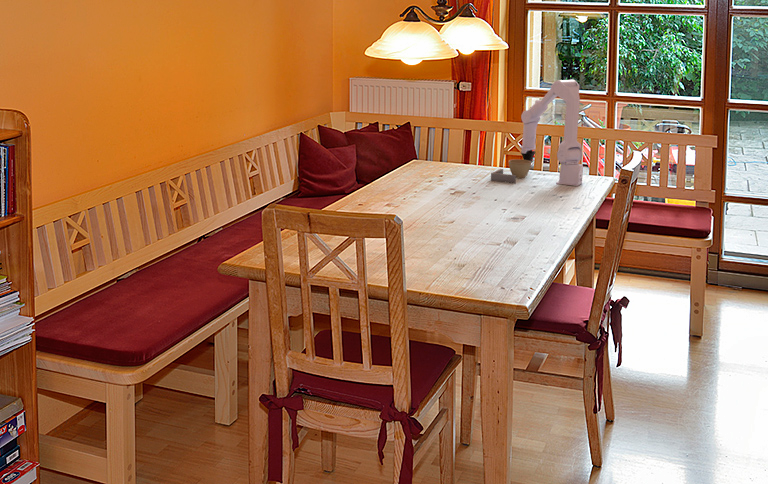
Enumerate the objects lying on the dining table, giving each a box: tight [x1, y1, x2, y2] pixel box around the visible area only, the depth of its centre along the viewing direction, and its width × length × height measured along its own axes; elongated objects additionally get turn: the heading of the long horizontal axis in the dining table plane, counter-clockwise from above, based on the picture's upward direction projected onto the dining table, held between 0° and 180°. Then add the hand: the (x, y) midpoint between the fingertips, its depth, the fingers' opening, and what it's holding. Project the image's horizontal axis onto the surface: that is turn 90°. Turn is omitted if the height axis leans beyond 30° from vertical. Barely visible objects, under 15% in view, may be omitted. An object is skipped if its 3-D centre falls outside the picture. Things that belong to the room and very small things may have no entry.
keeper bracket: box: [490, 168, 517, 184], centre depth 362 cm, size 11×12×4 cm
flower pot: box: [508, 158, 532, 179], centre depth 368 cm, size 10×10×7 cm
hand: (527, 167), depth 377 cm, fingers closed
